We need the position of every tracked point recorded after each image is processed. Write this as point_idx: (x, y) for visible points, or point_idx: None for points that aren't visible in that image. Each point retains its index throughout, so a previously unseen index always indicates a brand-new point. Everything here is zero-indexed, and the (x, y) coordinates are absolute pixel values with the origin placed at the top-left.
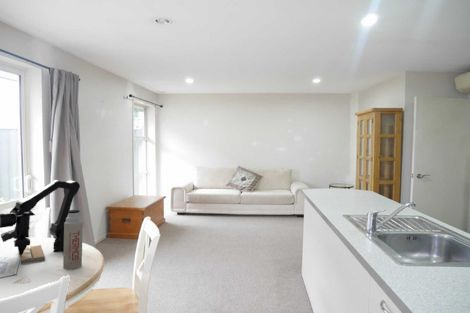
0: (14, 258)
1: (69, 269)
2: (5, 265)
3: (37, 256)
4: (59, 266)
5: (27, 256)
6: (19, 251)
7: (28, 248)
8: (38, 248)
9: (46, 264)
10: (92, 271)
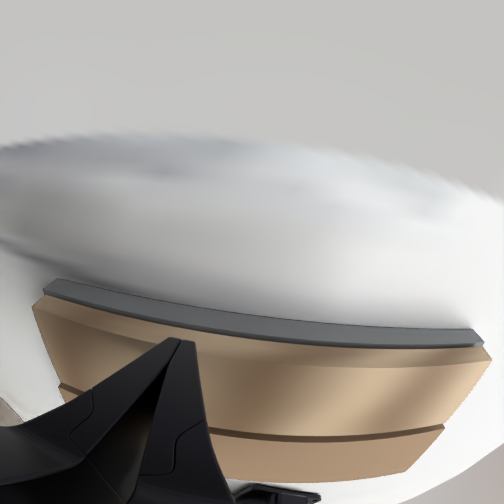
0: (312, 268)
1: None
2: (99, 144)
3: None
4: (8, 397)
5: (101, 378)
6: (119, 379)
7: (407, 425)
8: (330, 472)
9: (32, 385)
10: None
